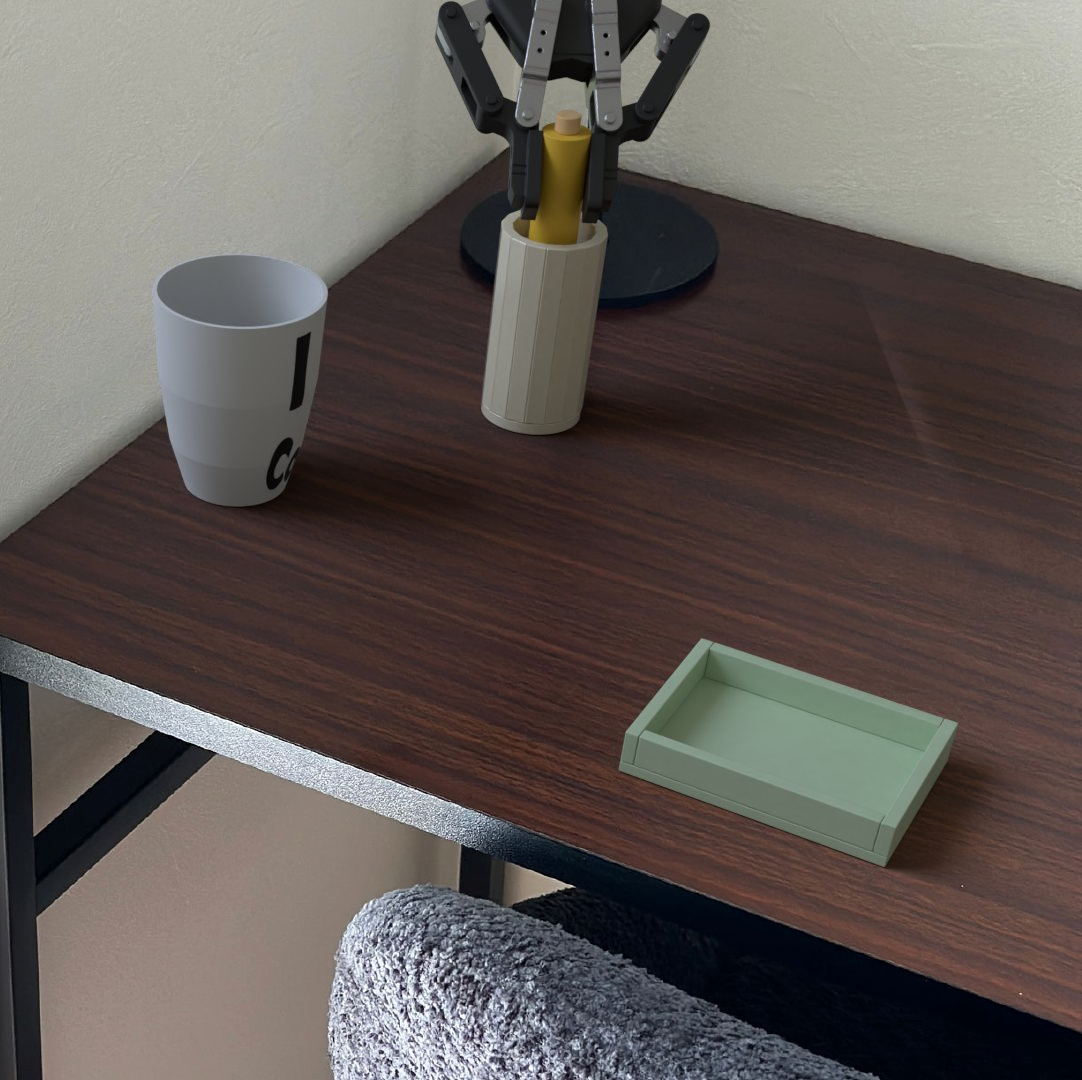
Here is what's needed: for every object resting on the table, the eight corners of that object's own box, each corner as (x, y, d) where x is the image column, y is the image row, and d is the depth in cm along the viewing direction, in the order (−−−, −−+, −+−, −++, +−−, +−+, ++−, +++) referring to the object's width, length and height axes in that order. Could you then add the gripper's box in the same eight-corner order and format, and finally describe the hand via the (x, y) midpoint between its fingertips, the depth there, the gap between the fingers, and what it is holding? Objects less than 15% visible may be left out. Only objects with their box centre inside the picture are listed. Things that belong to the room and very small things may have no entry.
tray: (947, 761, 86) (959, 722, 85) (884, 868, 81) (896, 827, 79) (693, 675, 91) (701, 637, 89) (618, 770, 85) (625, 731, 84)
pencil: (553, 391, 110) (592, 106, 100) (556, 412, 108) (596, 124, 98) (507, 388, 110) (542, 104, 100) (509, 410, 108) (545, 122, 98)
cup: (303, 531, 99) (314, 336, 93) (136, 512, 100) (136, 318, 94) (326, 450, 105) (338, 262, 99) (169, 433, 106) (171, 245, 100)
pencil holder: (577, 390, 111) (603, 209, 105) (583, 437, 107) (611, 251, 101) (479, 385, 111) (499, 204, 105) (482, 432, 107) (503, 246, 101)
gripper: (441, -178, 98) (421, 176, 97) (738, -165, 98) (722, 190, 96) (430, -91, 106) (411, 239, 104) (706, -79, 105) (691, 253, 104)
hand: (561, 214), depth 100 cm, fingers closed on pencil, 2 cm apart
